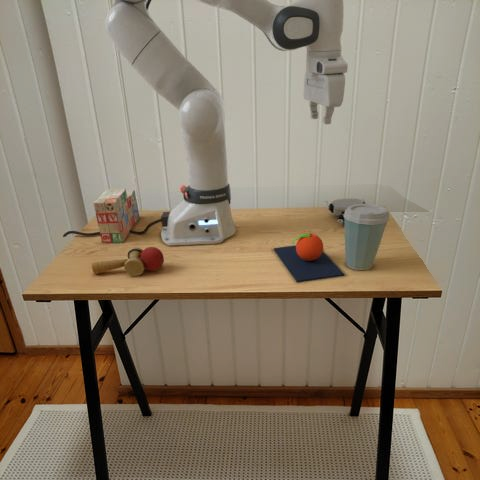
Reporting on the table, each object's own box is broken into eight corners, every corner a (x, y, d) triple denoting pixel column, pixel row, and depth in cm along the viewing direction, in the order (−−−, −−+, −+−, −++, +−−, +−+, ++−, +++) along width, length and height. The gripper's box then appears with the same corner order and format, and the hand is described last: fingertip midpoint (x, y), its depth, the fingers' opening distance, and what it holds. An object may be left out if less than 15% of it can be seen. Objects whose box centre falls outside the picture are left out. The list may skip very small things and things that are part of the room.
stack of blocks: (121, 217, 151) (114, 180, 145) (139, 217, 151) (133, 180, 144) (101, 243, 133) (92, 202, 127) (122, 242, 133) (114, 201, 126)
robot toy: (375, 229, 136) (361, 209, 148) (378, 215, 134) (363, 195, 146) (335, 231, 136) (324, 211, 148) (337, 217, 133) (325, 198, 145)
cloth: (297, 282, 108) (297, 280, 108) (273, 249, 125) (273, 248, 124) (344, 275, 110) (344, 274, 110) (315, 244, 127) (315, 242, 126)
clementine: (294, 266, 114) (295, 240, 110) (289, 255, 120) (289, 230, 116) (325, 264, 115) (327, 238, 111) (319, 253, 120) (320, 227, 117)
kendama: (94, 286, 113) (164, 271, 113) (86, 262, 111) (158, 247, 110) (101, 277, 120) (167, 263, 120) (93, 254, 118) (161, 240, 118)
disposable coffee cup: (335, 256, 119) (340, 200, 111) (377, 255, 119) (385, 199, 111) (342, 275, 110) (347, 215, 102) (387, 274, 110) (396, 214, 102)
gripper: (298, 62, 126) (297, 116, 133) (326, 66, 109) (323, 128, 116) (320, 61, 127) (317, 115, 134) (350, 65, 110) (346, 126, 117)
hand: (320, 121), depth 125 cm, fingers open, 8 cm apart
